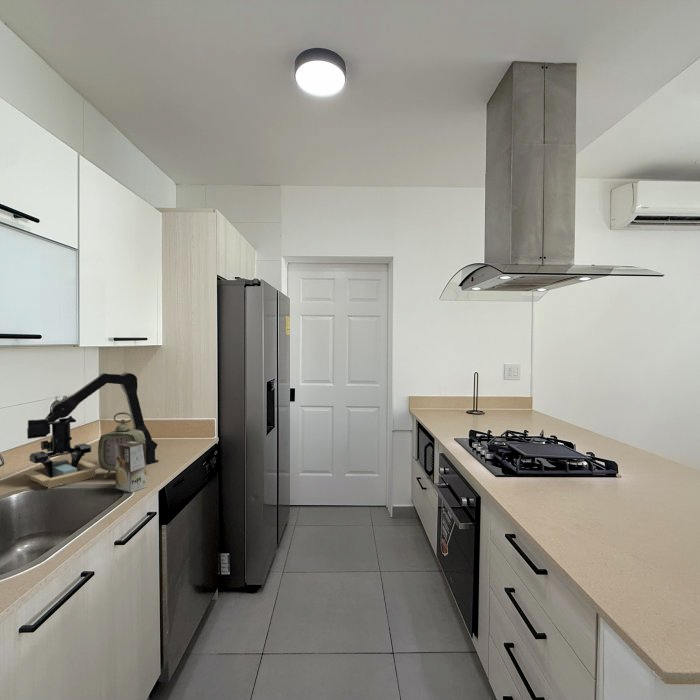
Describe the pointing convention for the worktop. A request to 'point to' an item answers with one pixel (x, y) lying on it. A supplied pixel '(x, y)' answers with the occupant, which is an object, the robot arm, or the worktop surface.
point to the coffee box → (130, 465)
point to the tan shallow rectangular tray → (83, 473)
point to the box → (61, 468)
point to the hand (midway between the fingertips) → (62, 475)
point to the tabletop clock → (110, 439)
